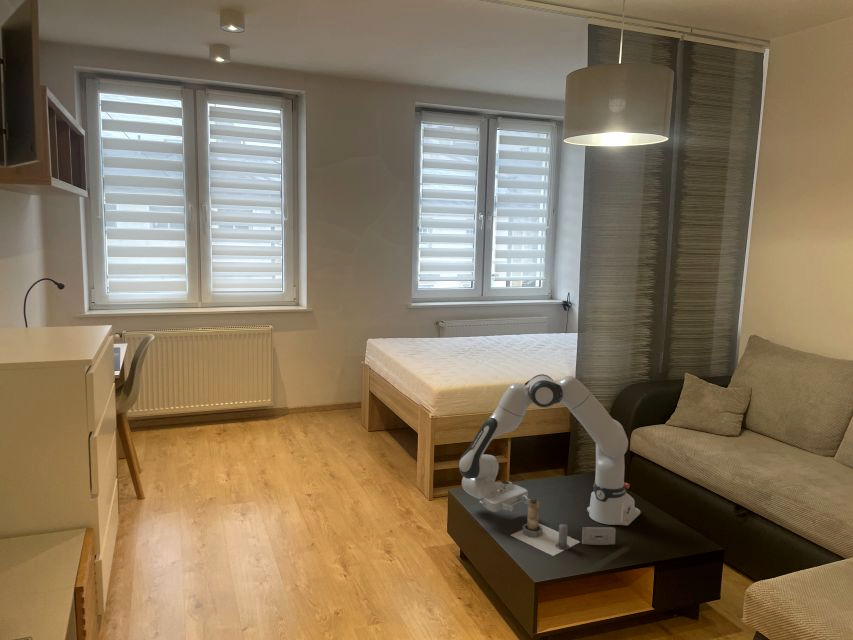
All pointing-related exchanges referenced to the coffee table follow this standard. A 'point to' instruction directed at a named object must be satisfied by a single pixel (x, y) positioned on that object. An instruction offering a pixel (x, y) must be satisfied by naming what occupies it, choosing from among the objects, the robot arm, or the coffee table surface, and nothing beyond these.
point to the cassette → (598, 531)
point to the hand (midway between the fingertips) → (521, 505)
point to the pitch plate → (547, 538)
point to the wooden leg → (533, 515)
